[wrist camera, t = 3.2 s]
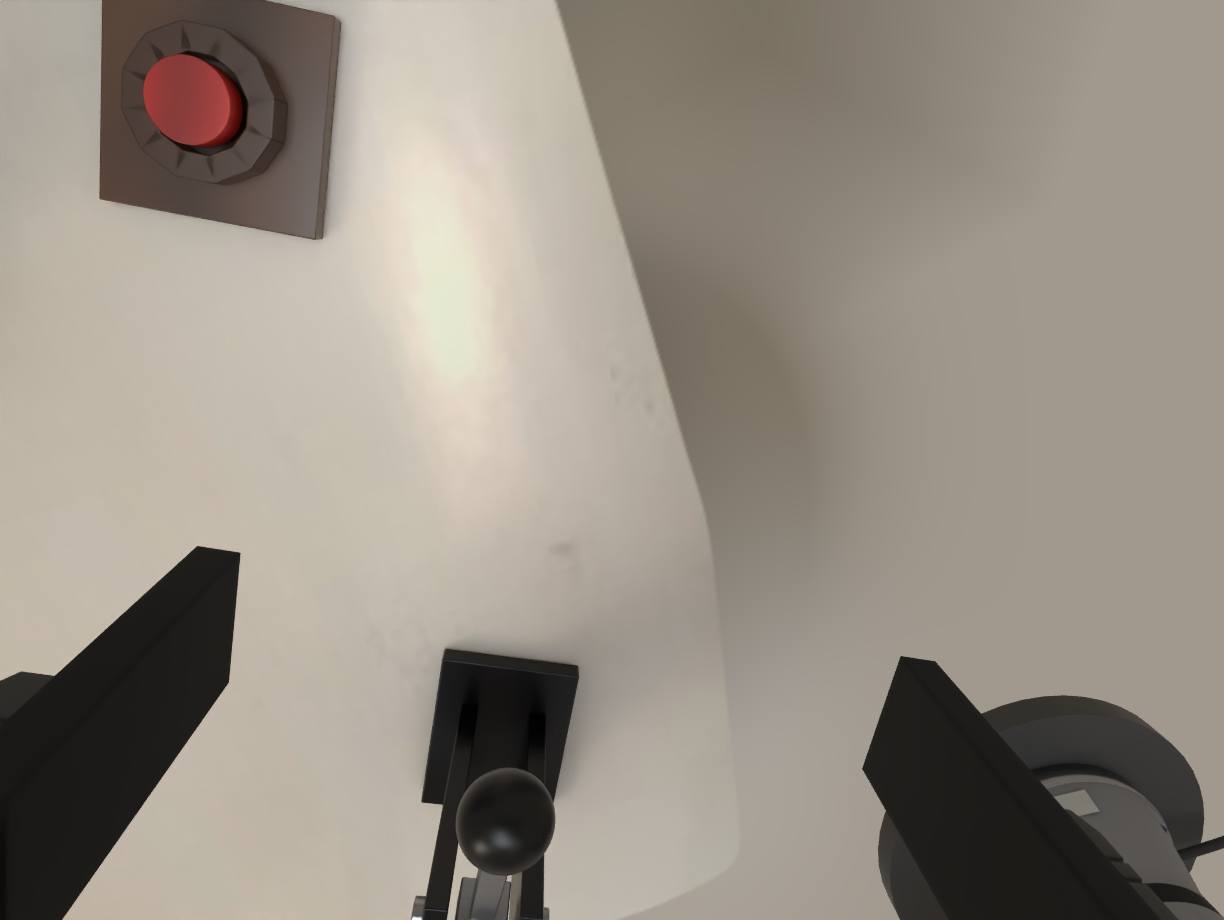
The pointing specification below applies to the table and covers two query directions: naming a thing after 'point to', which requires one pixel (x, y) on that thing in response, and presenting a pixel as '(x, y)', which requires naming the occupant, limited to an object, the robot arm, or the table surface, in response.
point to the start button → (192, 101)
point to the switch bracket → (492, 754)
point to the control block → (271, 124)
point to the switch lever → (500, 837)
